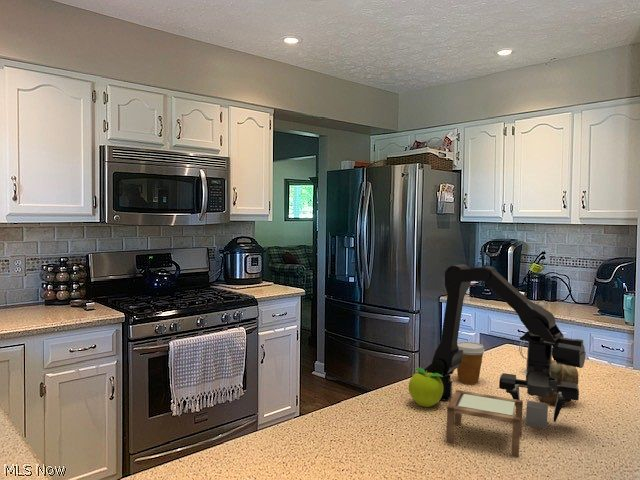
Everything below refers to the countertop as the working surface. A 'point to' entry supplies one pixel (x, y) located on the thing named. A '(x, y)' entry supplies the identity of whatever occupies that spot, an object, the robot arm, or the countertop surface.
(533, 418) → the gray cube
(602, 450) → the countertop surface
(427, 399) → the fruit
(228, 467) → the countertop surface
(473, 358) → the disposable coffee cup
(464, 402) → the trapdoor
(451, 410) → the frame
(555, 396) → the shell
